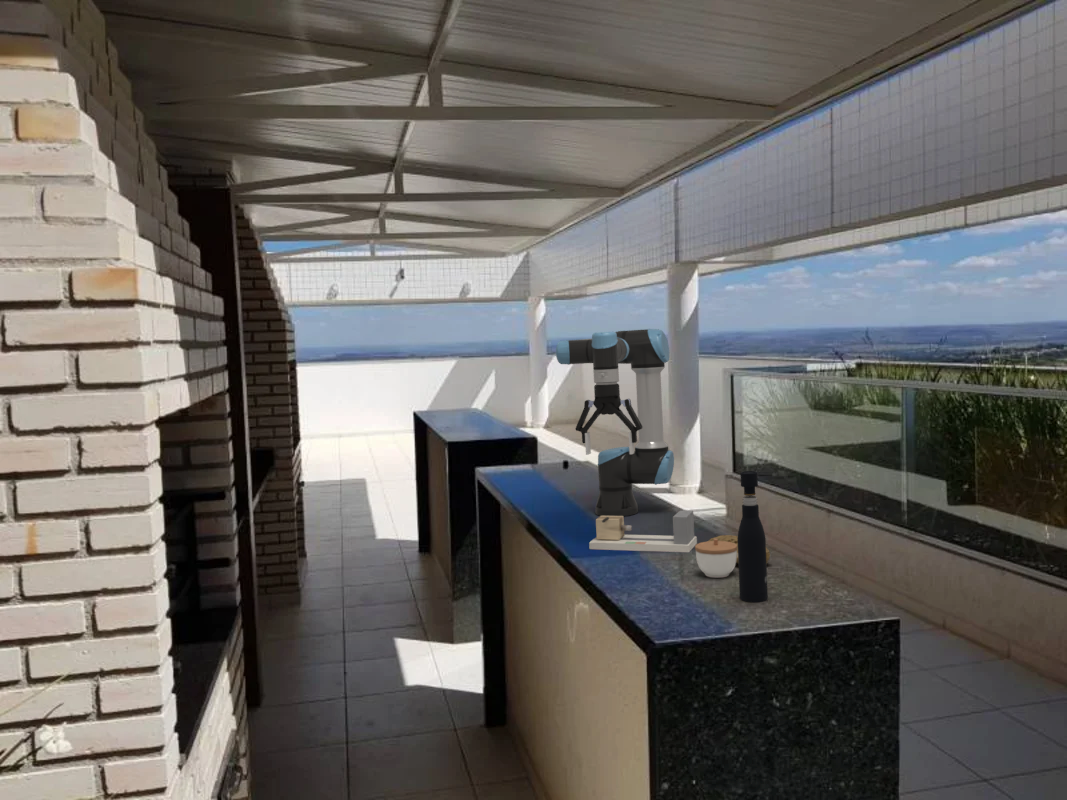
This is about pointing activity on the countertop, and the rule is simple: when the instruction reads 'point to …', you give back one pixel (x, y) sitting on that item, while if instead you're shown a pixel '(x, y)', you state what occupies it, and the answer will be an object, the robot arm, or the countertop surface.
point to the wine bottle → (751, 545)
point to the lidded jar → (716, 557)
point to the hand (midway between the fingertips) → (610, 454)
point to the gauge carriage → (611, 527)
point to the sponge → (734, 540)
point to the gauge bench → (656, 538)
